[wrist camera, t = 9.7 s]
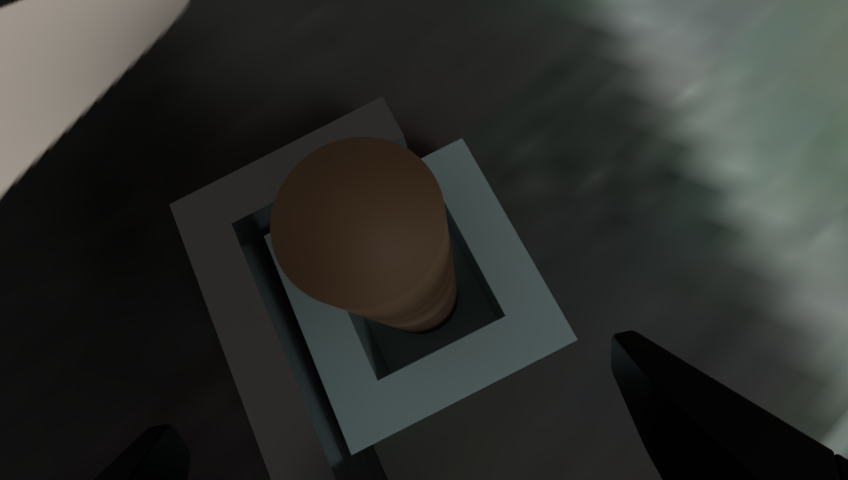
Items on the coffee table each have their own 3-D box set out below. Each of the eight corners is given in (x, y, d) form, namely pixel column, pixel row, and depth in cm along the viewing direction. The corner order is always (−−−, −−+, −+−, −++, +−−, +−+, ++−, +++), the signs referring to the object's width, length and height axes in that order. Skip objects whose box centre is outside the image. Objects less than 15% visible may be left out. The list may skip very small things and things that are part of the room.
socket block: (555, 342, 21) (577, 339, 17) (375, 434, 21) (351, 455, 17) (463, 177, 24) (462, 138, 20) (301, 257, 24) (263, 235, 19)
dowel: (473, 294, 21) (483, 212, 9) (421, 350, 21) (353, 347, 8) (419, 244, 22) (358, 105, 10) (368, 297, 22) (235, 223, 9)
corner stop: (574, 472, 20) (619, 521, 14) (380, 578, 19) (343, 674, 14) (402, 158, 24) (382, 96, 18) (241, 240, 24) (169, 204, 18)
